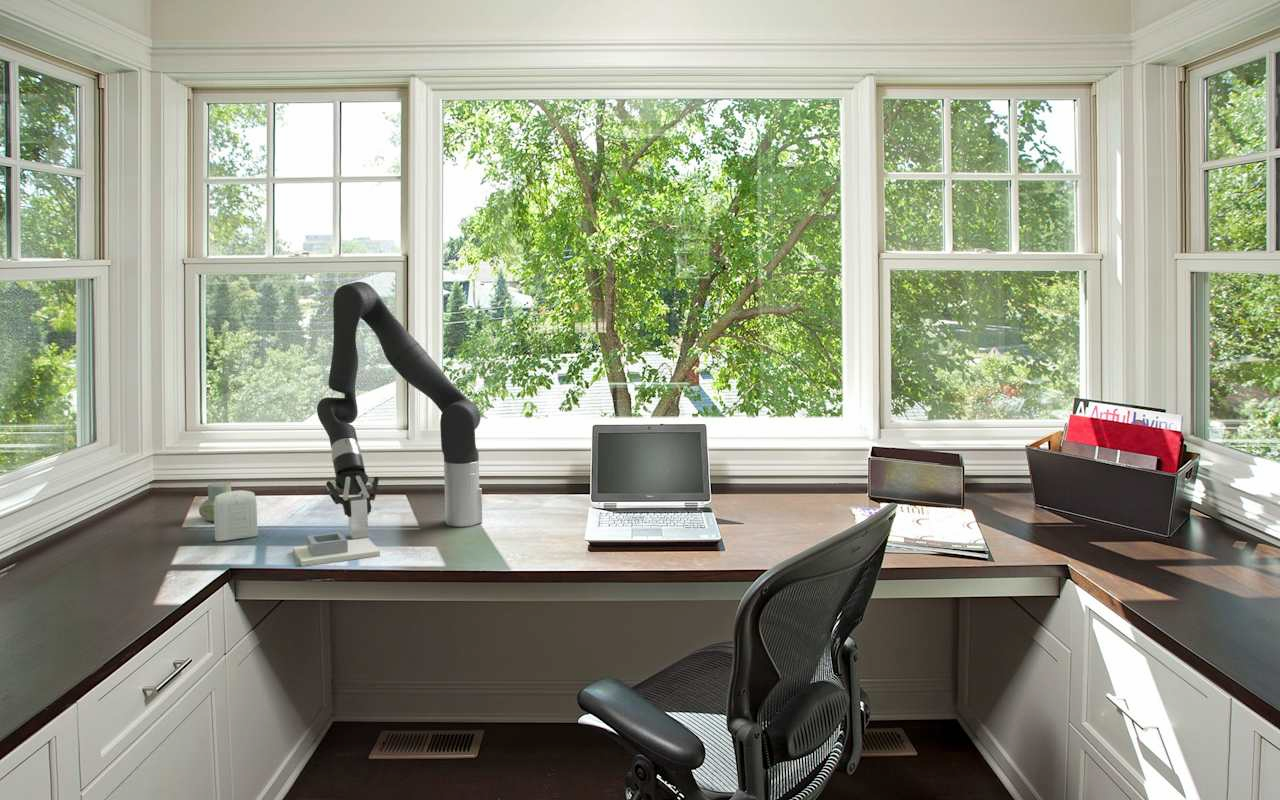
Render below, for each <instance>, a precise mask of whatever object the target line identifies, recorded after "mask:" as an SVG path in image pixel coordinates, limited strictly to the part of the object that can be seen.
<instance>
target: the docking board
mask: <svg viewBox="0 0 1280 800" xmlns="http://www.w3.org/2000/svg"><path fill="white" fill-rule="evenodd" d="M306 541H307V542H306V543H307V545H300V546H293V547H292V551H293V554H294V553H295V554H294V556H295V555H296V556H295V557H296V558H297V560H298V563H299V564H300V566H301V567H307V565H308V566H314V565H315V566H316V565H320V564H321V565H323V564H328V563H329V564H330V563H336V562H345V561H351V560H359V559H365V558H367V557H368V558H373V557H374V556H375V557H380V556H381V552H380V549H378V547H377V546H376V545H375V543H373V542H372V540H371V539H370V538H369V537H365V538H357V539H347V538H346V537H345V535H344V534H343V532H342V531H339V532H329V533H321V534H315V535H314V534H313V535H312V534H311V535H307V536H306Z"/></svg>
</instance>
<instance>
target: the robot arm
mask: <svg viewBox="0 0 1280 800" xmlns="http://www.w3.org/2000/svg"><path fill="white" fill-rule="evenodd" d="M332 300H333V302H332V310H333V313H332V314H333V339H332V340H333V343H332V344H333V346H332V355H331V363H330V370H329V374H328V375H329V376H328V381H327V382H328V384H327V385H328V387H329V389H331V390H332V391H334V392H337V393H341V394H343V395H344V397H324V398H322V399H320V400H319V401H318V403H317V407H316V414H317V417H318V420H319V422H320V424H321V425H322V427H323V428H324V430H325V432H326V433H327V436H328V438H329V443H330V449H331V461H332V463H333V464H332V465H333V469H334V475H335V480H333V481H331V480H328V481H327V482H326V484H325V490H326V492H327V493H328V495H329V497H330V498H331V500H332V501H333V502H334V504H335V505H339V504H340V505H342V508H343V514H344V515H345V516H347V518H349V517H350V516H351V509H350V504H349V501H348V497H349V495H350V494H358V496H364V497H365V498H366V499H367V515H369V514H370V513H371V511H372V504H371V501H375V499H376V496H377V490H378V485H379V480H380V478H379V476H374V477H369V475H368V474H367V472H366V469H365V464H364V460H363V456H362V450H361V447H360V445H359V442H358V437H357V433H356V429H355V427H354V425H352V423H353V422H354V421H355V420H356V419H357V417H358V412H359V411H358V404H357V398H356V397H357V395H356V382H357V375H358V368H359V355H358V349H357V341H356V340H357V339H356V338H357V329H358V326H359V325H358V324H359V322H360V319H362V321H363V322H364V323H365V324H367V325H368V327H369V328H370V329H371V330H372V331H373V333H374V334H375V335H376V337H377V339H378V341H379V344H380V347H381V349H382V351H383V354H384V357H385V358H386V360H387V361H388V363H390V365H391V366H392V368H393V369H395V371H396V372H397V373H398V374H399V376H400V377H402V379H404V380H405V381H406V382H407V383H408V384H410V385H411V387H414V388H415V389H417V390H418V391H419V392H421V393H423V394H424V395H425V396H427V397H428V398H429V399H430V400H431V401H432V402H433V403H434V404H435V405H436V406H437V408H438V409H439V411H440V412H441V415H440V422H439V423H440V424H439V426H440V428H439V429H440V443H441V444H440V445H441V451H442V452H441V453H442V455H443V468H444V469H443V470H444V471H443V472H444V473H443V474H444V478H443V479H444V507H445V511H444V512H445V514H444V515H445V516H444V517H445V518H444V519H445V525H447V526H451V527H472V526H474V525H478V524H482V523H483V493H482V492H483V491H482V488H481V487H480V465H479V464H480V462H479V461H480V459H479V450H478V448H477V445H476V429H477V428H478V427H479V425H480V423H481V414H480V410H479V409H478V407H477V405H476V404H475V403H474V402H473V401H471V399H469V397H467V396H466V395H465V394H464V393H463V392H462V391H460V389H459V388H458V387H456V386H455V384H453V383H452V381H451V380H450V379H449V378H448V377H447V375H446V374H445V373H444V372H443V370H442V369H441V368H440V367H439V365H438V364H437V363H436V362H435V361H434V360H433V358H431V356H430V355H429V353H428V352H427V351H426V350H425V349H424V348H423V346H421V345H420V343H419V342H418V341H417V340H416V339H415V338H414V337H413V336H412V335H411V334H410V333H409V331H408V330H407V329H406V327H404V326H403V324H401V322H399V320H398V319H397V318H396V316H394V314H393V313H392V312H391V311H390V309H389V308H388V306H387V305H386V303H385V302H384V301H383V299H382V298H381V297H380V295H379V293H378V292H377V290H375V288H373V286H371V285H370V284H368V283H367V282H364V281H355V282H350V283H346V284H343V285H342V286H339V287H338V288H337V289H336V291H335V292H334V295H333V299H332ZM367 484H369V486H370V487H371V492H370V493H369V492H368V489H367V487H366V485H367ZM337 487H338V488H339V489H340V490H341V491H342V492H343V493H342V496H340V493H339V492H338V491H337V490H336V489H337Z"/></svg>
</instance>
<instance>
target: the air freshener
mask: <svg viewBox="0 0 1280 800" xmlns="http://www.w3.org/2000/svg"><path fill="white" fill-rule="evenodd" d="M229 491H232V484H231V482H227V481H218V482H212V483H210V484H208V485H207V498H208V499H207V500H205V501H204V502H202V503H201V505H199V508H198V513H199V515H200V516H201V518H203V519H204V520H206V521H209V522H211V523H214V500H215V496H217V495H219V494H222V493H225V492H229Z"/></svg>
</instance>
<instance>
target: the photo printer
mask: <svg viewBox="0 0 1280 800" xmlns="http://www.w3.org/2000/svg"><path fill="white" fill-rule="evenodd" d="M257 507H258V506H257V497H256V495H255V492H253V491H250V490H244V489H243V490H240V489H239V490H238V489H237V490H231V491H229V492H225V493H222V494H219V495H217V496H215V500H214V522H213V523H214V539H215V541H216V542H225V541H226V542H227V541H231V540H232V541H233V540H241V539H248V538H255V536H256V537H258V534H259V533H258V511H257Z"/></svg>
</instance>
